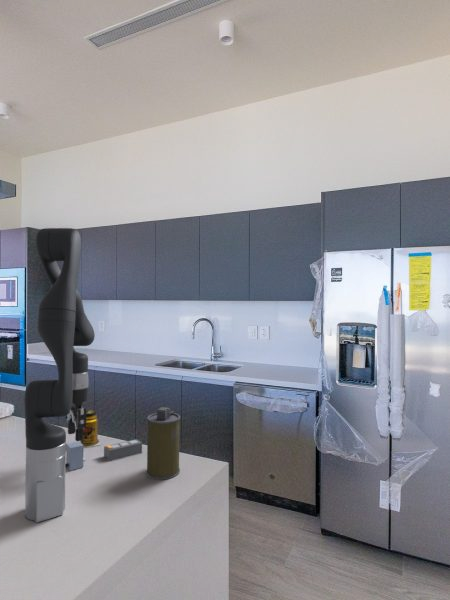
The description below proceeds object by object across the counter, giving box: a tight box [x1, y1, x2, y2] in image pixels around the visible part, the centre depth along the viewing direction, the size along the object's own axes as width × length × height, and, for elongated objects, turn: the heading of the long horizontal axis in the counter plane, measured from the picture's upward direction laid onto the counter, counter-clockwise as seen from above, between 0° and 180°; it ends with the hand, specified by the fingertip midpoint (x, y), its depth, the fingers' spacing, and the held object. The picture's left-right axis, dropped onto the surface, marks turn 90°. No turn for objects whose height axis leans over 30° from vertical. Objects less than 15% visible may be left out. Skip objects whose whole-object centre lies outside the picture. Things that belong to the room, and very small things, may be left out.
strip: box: [103, 439, 143, 462], centre depth 133 cm, size 4×12×4 cm, turn 128°
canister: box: [145, 406, 181, 480], centre depth 120 cm, size 11×10×20 cm
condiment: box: [80, 409, 102, 449], centre depth 144 cm, size 7×8×12 cm
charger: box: [65, 441, 87, 471], centre depth 122 cm, size 4×10×7 cm, turn 128°
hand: (75, 437), depth 122 cm, fingers open, 8 cm apart
